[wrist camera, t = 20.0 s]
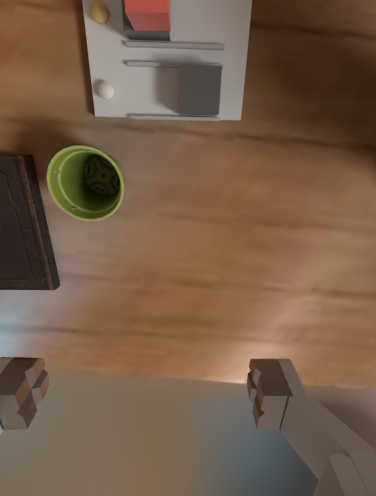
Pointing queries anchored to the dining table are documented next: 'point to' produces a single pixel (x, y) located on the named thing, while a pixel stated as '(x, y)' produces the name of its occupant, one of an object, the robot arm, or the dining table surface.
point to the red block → (149, 14)
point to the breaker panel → (166, 58)
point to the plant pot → (85, 183)
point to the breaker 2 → (199, 89)
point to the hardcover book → (24, 229)
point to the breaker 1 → (142, 34)
